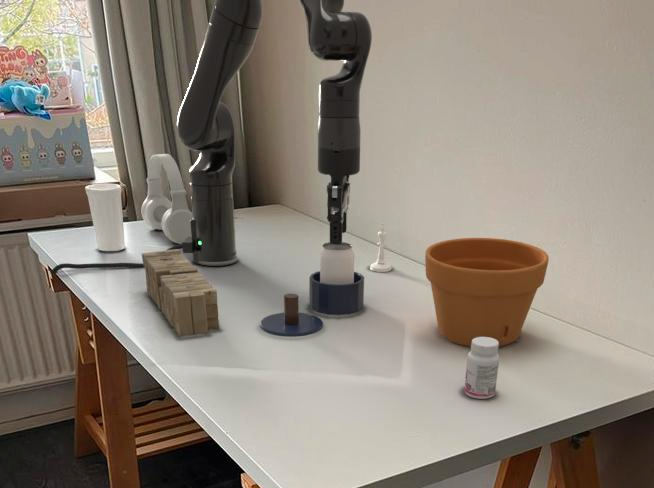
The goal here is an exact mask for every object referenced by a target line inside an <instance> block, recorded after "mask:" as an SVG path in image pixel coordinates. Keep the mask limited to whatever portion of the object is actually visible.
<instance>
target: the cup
mask: <svg viewBox="0 0 654 488" xmlns="http://www.w3.org/2000/svg"><path fill="white" fill-rule="evenodd" d="M84 190H85V193H86V196H87V199H88V204H89V209H90V210H89V211H90V215H91V221H92V226H93V231H94V237H95V241H96V245H97V249H98V250H99V251H103V252H117V251H121V250H124V249H125V248H126V242H125V241H126V240H125V228H124V217H123V205H122V186H121V185H120V184H117V183H92V184H89V185H86V186H85V187H84Z"/></svg>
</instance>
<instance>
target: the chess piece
mask: <svg viewBox="0 0 654 488" xmlns="http://www.w3.org/2000/svg"><path fill="white" fill-rule="evenodd" d="M380 228H381V229H380V231H378V232H377V236H378V240H379V241H378V242H377V243H376V245H378V246H379V248H378V255H377V259H376V261H375V262H373V263H371V264H370V267H369V270H370V271H373V272H376V273H377V272H378V273H385V272H386V273H387V272H390V271H391V270H392V269H393V268H392V265H391V264H390V263H388V262H387V261H386V257H385V246H387V245H388V243H387V242H386V241H385V240H386V238H387V234H388V233H387V232H386V231H385V230H384V229H385V223H383V222H382V223H381V226H380Z"/></svg>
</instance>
